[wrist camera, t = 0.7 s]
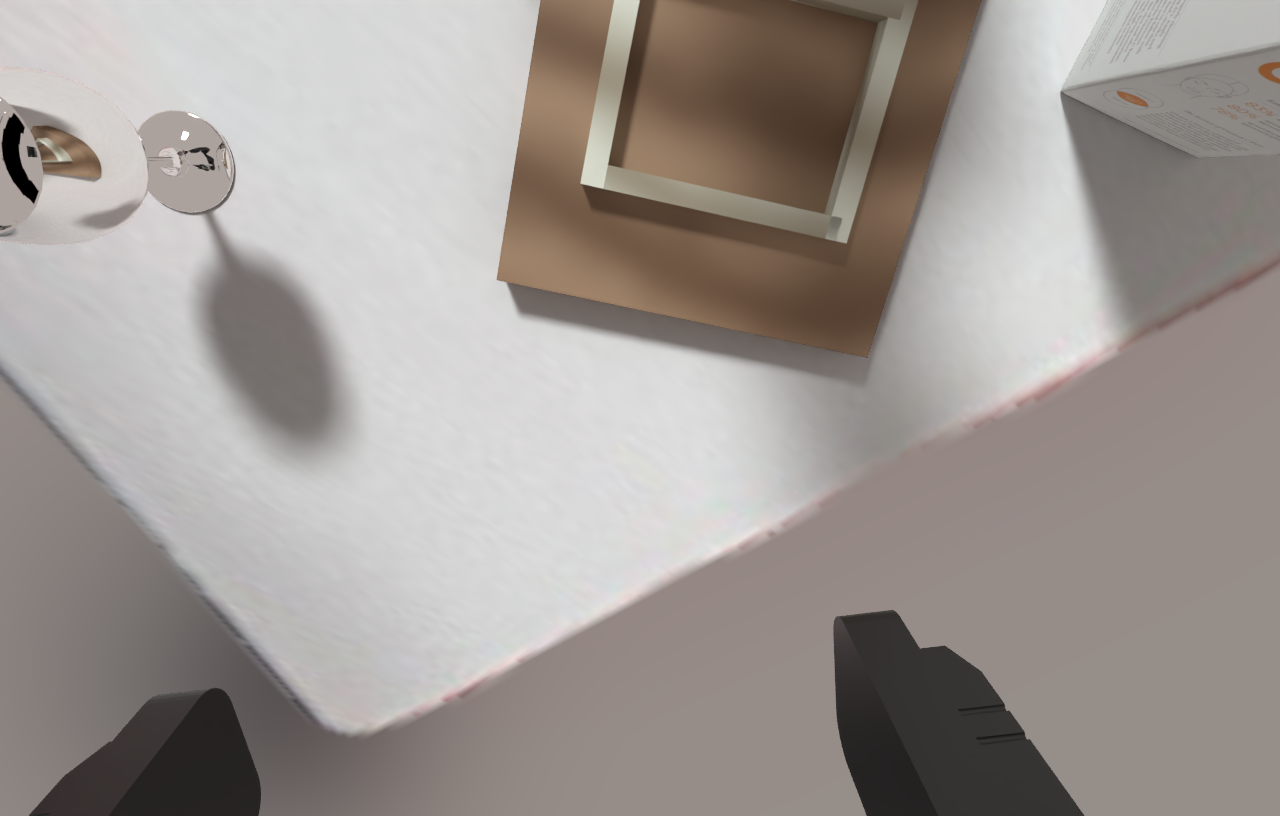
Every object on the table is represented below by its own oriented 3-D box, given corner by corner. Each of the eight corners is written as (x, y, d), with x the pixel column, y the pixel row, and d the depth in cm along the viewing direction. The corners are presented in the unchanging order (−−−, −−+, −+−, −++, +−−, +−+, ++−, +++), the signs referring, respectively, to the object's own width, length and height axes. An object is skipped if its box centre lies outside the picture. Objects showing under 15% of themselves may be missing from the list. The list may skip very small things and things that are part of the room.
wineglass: (275, 185, 34) (103, 192, 23) (178, 249, 35) (-35, 288, 23) (190, 68, 32) (-40, 12, 21) (90, 138, 33) (-184, 120, 22)
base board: (580, -212, 30) (576, -256, 27) (993, -98, 31) (1034, -126, 28) (503, 274, 36) (492, 283, 33) (854, 348, 37) (876, 363, 34)
